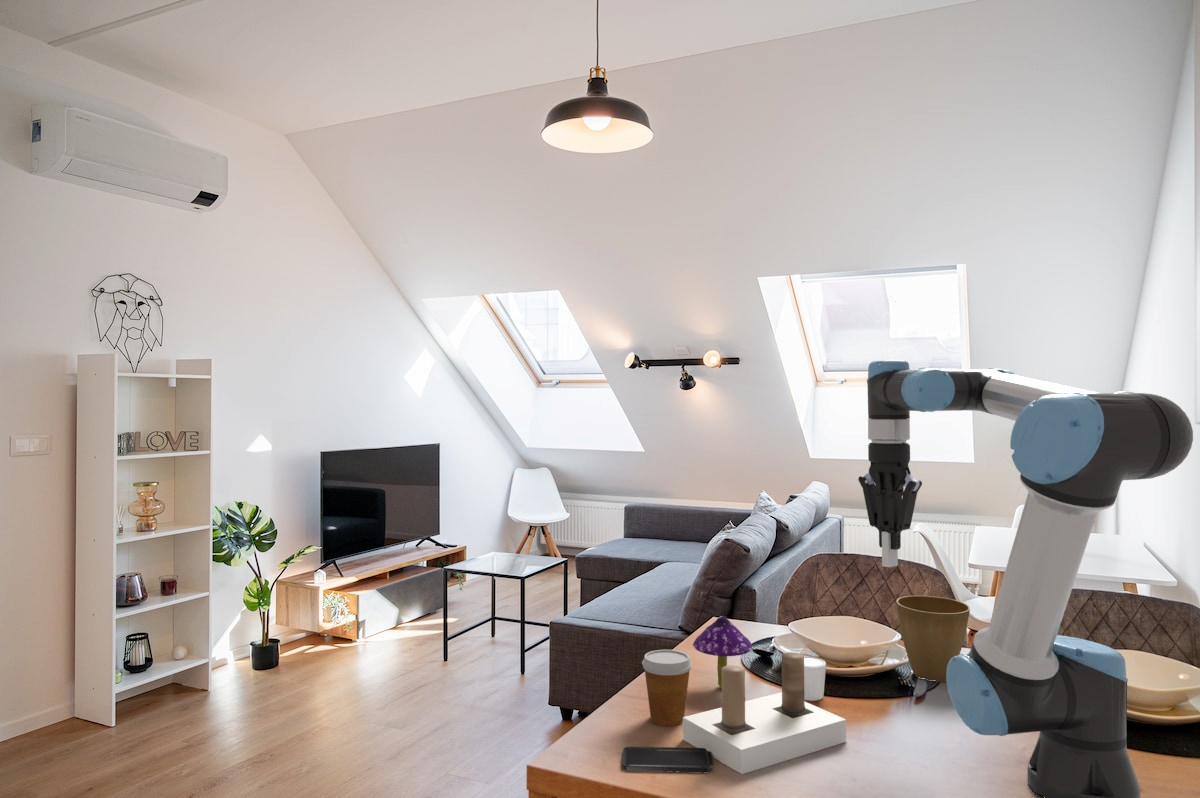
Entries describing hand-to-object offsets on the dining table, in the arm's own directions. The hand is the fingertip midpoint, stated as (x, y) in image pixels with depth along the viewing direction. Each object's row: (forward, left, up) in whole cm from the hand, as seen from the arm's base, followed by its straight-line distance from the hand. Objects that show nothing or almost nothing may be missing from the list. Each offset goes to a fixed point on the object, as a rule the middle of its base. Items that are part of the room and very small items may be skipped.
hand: (889, 565), depth 158 cm
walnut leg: (+5, +20, -29) cm, 36 cm away
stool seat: (+5, +27, -29) cm, 40 cm away
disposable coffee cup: (+22, +36, -29) cm, 52 cm away
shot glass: (+17, +4, -29) cm, 34 cm away
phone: (+7, +47, -30) cm, 56 cm away
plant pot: (+11, -27, -29) cm, 41 cm away
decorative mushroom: (+30, +16, -29) cm, 45 cm away
